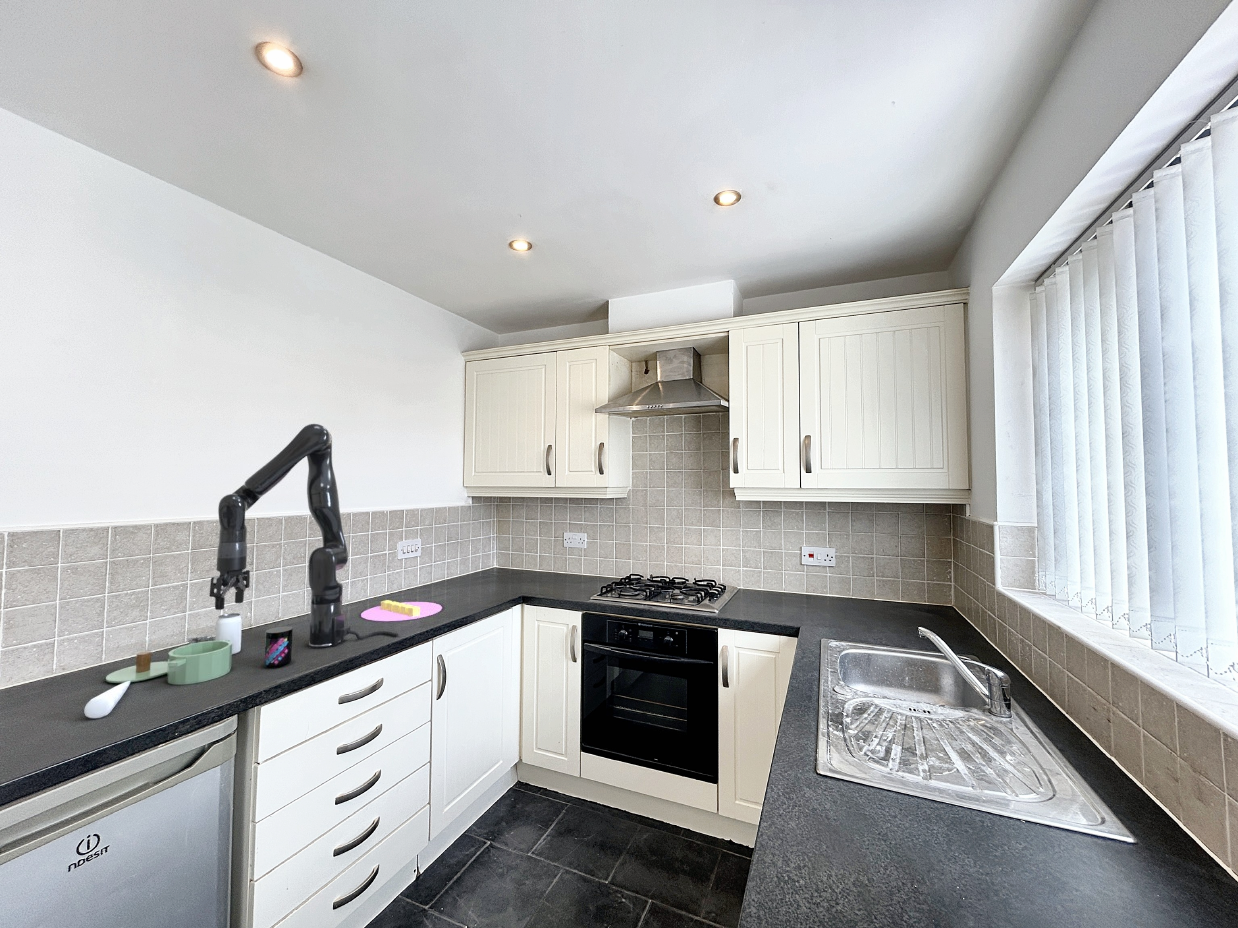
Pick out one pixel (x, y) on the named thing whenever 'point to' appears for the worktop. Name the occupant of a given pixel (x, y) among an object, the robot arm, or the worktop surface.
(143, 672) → the pan lid
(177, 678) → the pan
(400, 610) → the platter
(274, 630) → the supplement container
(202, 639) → the egg carton
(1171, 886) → the worktop surface
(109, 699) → the unicorn horn
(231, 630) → the can
